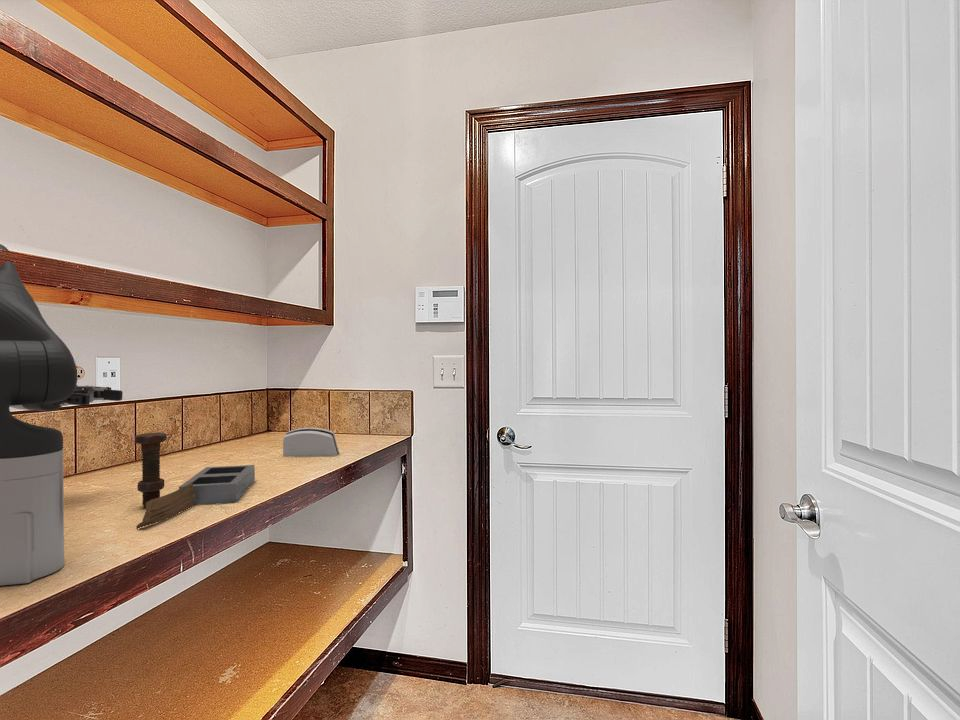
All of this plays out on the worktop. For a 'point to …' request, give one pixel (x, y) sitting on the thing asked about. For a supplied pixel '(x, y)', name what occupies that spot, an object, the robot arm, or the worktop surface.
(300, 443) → the grey napkin holder
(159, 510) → the wood plank
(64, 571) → the worktop surface
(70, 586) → the worktop surface
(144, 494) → the bolt
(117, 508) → the worktop surface
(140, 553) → the worktop surface
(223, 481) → the two-slot grey tray
